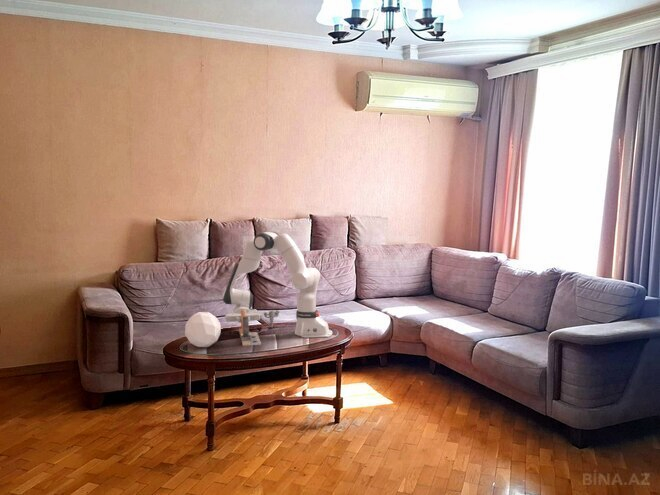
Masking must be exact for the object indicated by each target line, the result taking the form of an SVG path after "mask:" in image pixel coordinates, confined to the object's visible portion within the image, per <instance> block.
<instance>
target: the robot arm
mask: <svg viewBox="0 0 660 495" xmlns="http://www.w3.org/2000/svg"><path fill="white" fill-rule="evenodd" d="M272 250H277V252H278V253H279V255H280V256H281V258H282V260H283V261H284V263H285V264H286V267H287V269H288V271H289V273H290V276H291V284H292V285H293V287H294V288H295V289H297V290H299V292H298V294H297V297H296V301H297V302H296V304H297V305H296V312H295V315H296V317H295V318H296V324H295V325H296V326H295V331H294V335H296V336H298V337H301V338H303V339H304V338H328V337H331V336H333V331H332V330H331V329H329V324H328V322H327V321H326V320H324V319H323V318H322V317H321V316H320V310H317V309H316V308H317V306H316V304H317V300H316V299H317V292H318V286H319V282H320V279H321V272H320V270H318V268H315V267H311V266H310V267H307V266H306V263H305V256H304V255H303V253H302V251H301V250H300V248H299V247H298V245H297V244H296V243H295V241H294V240H293V239H292V237H290V235H288V233H286V232H285V233H280V234H279V233H277V232H275V231H264V232H260V233H258V234H257V235H255V237H254V238H253V239H249V240H248V241H247V242H246V244H245V247H244V250H243V253H242V257H241V259H240V261H239V262H237V263H236V264H235V265H234V267H233V269H232V271H231V273H230V277H229V279H228V281H227V284H226V286H225V289H224V290H223V292H222V296H221V298H222V299H221V300H222V302H223V303H225V305H231V306H233V305H235V306H234V308H233V312H231V313H226V314H225V315H224V319H225V322H227V323H231V322H232V323H234V322H238V323H241V310H246V316H248V322H253V321H260V320H261V314H260V312H259V311H257V309H255V308H252V306H253V303H254V295H253V294H252V291H250V290H246V289H237V288H234V287H235V284H236V281H237V279H238V277H240V275H244V274H248V273H252V272H254V271H256V270H257V269H258V268H259V266H260V263H261V259H262V254H263V252H265V251H272Z"/></svg>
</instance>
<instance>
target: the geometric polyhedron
mask: <svg viewBox="0 0 660 495" xmlns="http://www.w3.org/2000/svg"><path fill="white" fill-rule="evenodd" d="M221 328H222V324H221V323H220V320H219V319H218V318H217V317H216V316H215V315H213V314H212V313H211V312H209V311H207V312H205V311H198V312H196V313H194V314H193V315H191V316H190V317H189V318H188V320H187V321H186V324H185V328H184V330H185V331H184V335H185V337H186V338H187V340H188V342H189V343H190V344H192V345H194V346H195V347H196V348H209V347H210V346H212V345H213V344H215V343H216V342H217V341H218V340H219V338H220V336H221Z"/></svg>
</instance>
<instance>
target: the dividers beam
mask: <svg viewBox="0 0 660 495" xmlns="http://www.w3.org/2000/svg"><path fill="white" fill-rule="evenodd" d="M249 330H250V329H249V321H248V316H244V317H243V333H240V332H239V337H240V340H241V343H242V346H244V347H248V346H250V347H251V345H250V341H251V336H250V335H249V333H250V332H249Z"/></svg>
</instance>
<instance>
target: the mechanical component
mask: <svg viewBox="0 0 660 495" xmlns="http://www.w3.org/2000/svg"><path fill="white" fill-rule="evenodd" d="M279 314H280V310H276V309H275V310H269V311H268V312H267V311H265V312H264V313H263V315H264V316H263V317H264V318H265V319H269V324H270V328H273V327H274V320H275V319H274V318H278V317H279Z"/></svg>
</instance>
